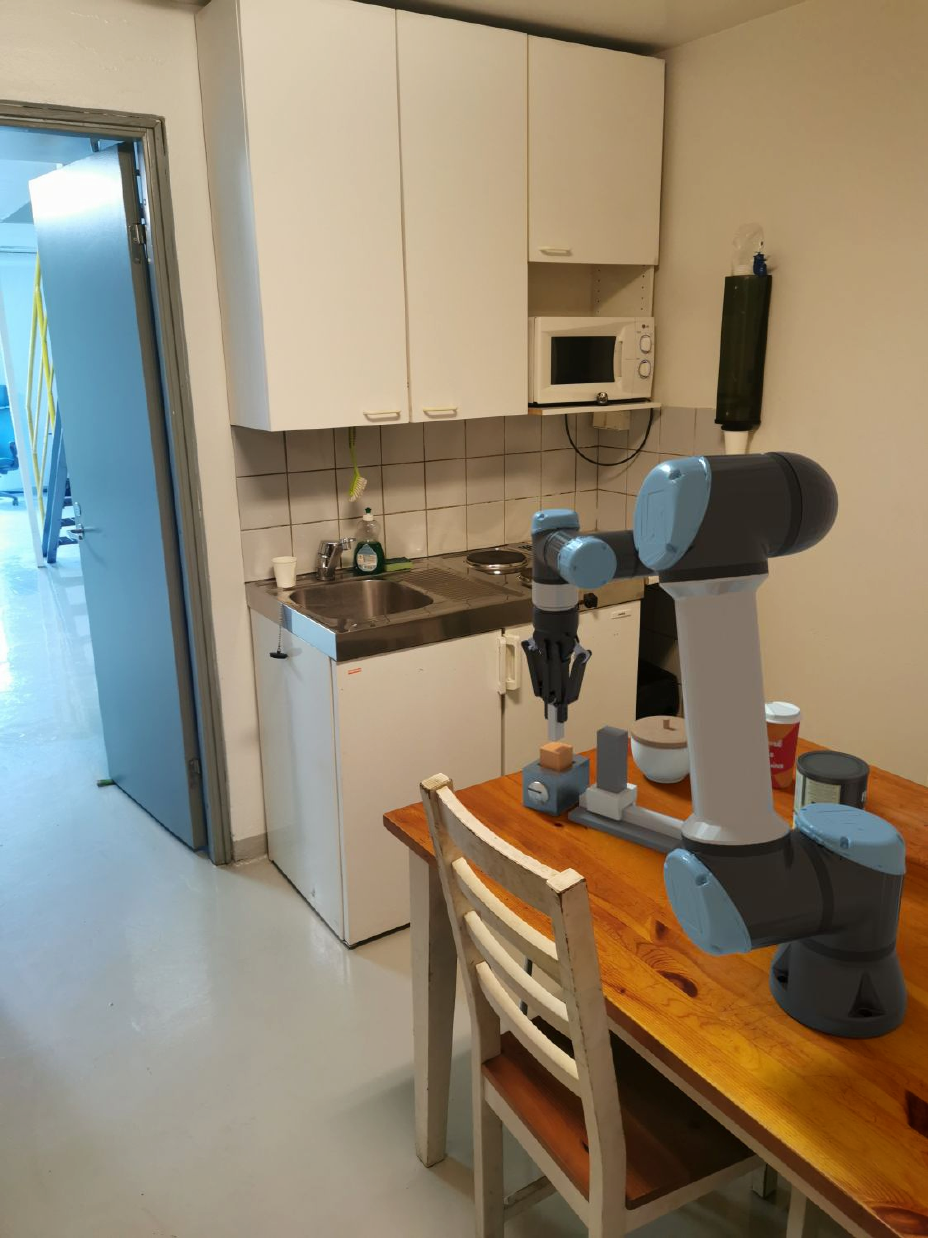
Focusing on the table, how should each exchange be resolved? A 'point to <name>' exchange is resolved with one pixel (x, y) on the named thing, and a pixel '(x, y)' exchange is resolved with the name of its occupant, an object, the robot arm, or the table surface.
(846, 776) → the coffee can
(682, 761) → the lidded bowl
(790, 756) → the paper cup
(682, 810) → the table surface
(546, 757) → the button
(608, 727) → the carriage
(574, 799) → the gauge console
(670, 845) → the rail bed
